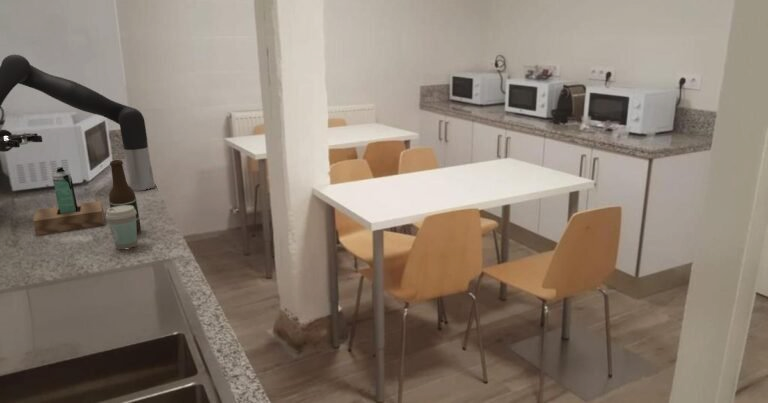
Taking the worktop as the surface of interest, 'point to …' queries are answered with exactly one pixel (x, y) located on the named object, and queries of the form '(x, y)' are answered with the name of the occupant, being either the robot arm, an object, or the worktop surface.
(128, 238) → the coffee cup
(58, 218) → the block
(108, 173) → the worktop surface
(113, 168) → the beer bottle
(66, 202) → the spray can
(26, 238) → the worktop surface
